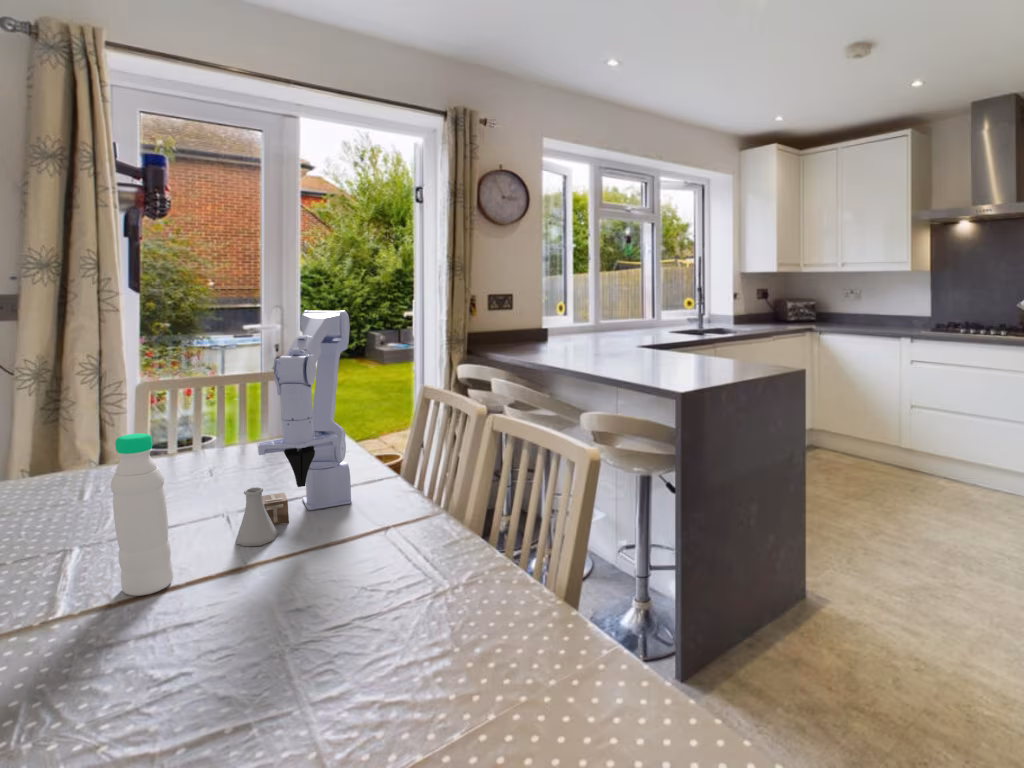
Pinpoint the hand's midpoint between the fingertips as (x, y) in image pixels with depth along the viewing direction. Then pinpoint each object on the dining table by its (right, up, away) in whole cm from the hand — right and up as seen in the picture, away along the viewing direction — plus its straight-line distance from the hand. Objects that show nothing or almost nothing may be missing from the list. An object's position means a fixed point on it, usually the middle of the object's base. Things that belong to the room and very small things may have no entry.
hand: (300, 485), depth 112 cm
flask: (-8, -10, -2) cm, 13 cm away
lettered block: (-8, -9, +6) cm, 13 cm away
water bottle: (-17, -13, -20) cm, 29 cm away
